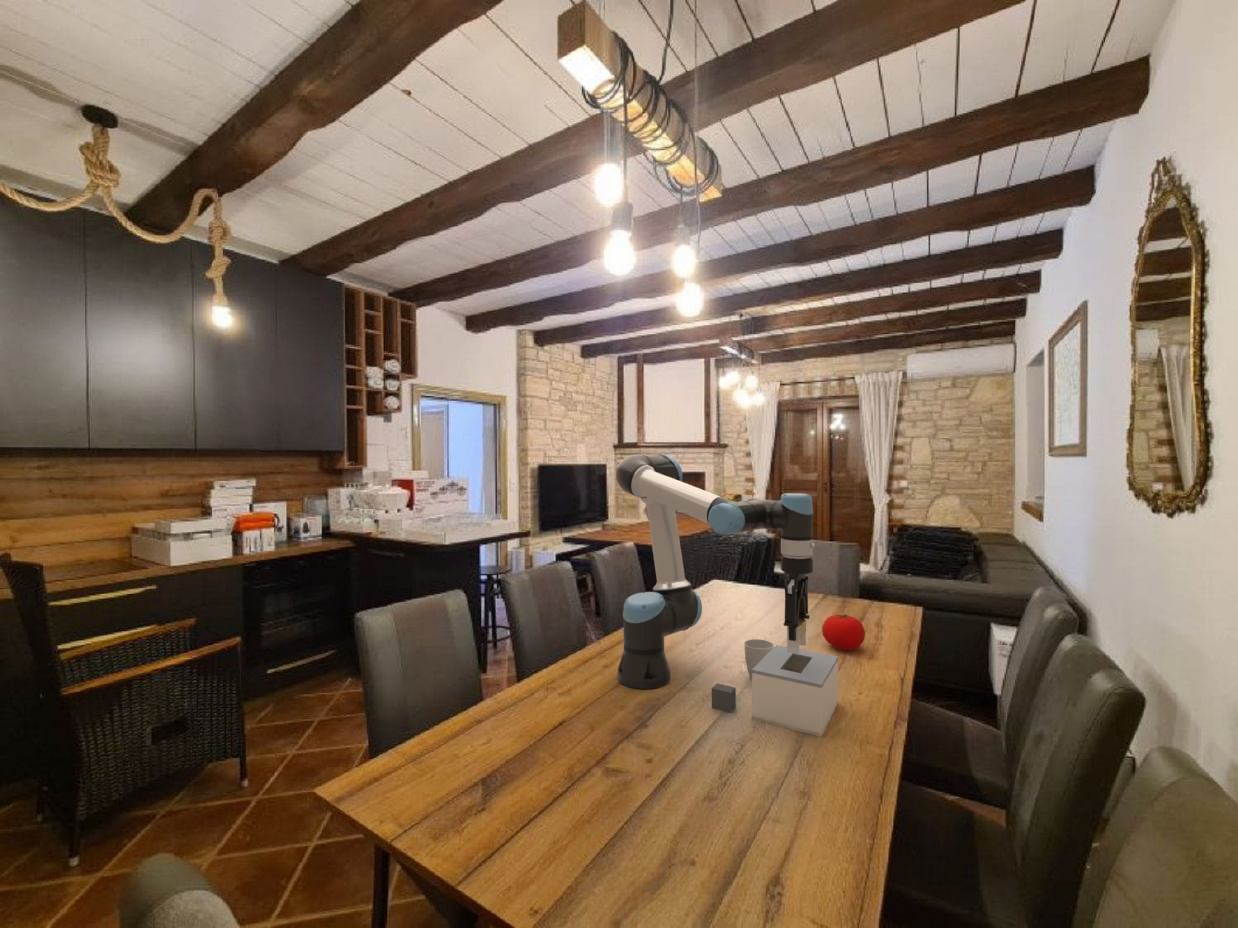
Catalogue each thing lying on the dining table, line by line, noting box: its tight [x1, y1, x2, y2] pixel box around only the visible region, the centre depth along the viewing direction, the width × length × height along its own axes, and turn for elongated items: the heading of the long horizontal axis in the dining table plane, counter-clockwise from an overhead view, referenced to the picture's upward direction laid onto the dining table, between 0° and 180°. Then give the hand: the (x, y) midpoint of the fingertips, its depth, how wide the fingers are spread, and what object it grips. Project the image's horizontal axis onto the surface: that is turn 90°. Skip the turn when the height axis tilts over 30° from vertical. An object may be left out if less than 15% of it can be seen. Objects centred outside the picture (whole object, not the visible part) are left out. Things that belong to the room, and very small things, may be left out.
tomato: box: [821, 614, 866, 651], centre depth 179 cm, size 12×13×11 cm
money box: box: [751, 644, 839, 738], centre depth 135 cm, size 16×20×12 cm
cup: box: [743, 638, 775, 681], centre depth 154 cm, size 8×8×10 cm
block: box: [711, 682, 737, 713], centre depth 137 cm, size 5×4×5 cm
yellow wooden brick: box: [798, 618, 807, 638], centre depth 135 cm, size 3×6×3 cm, turn 148°
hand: (796, 648), depth 135 cm, fingers closed on yellow wooden brick, 6 cm apart
